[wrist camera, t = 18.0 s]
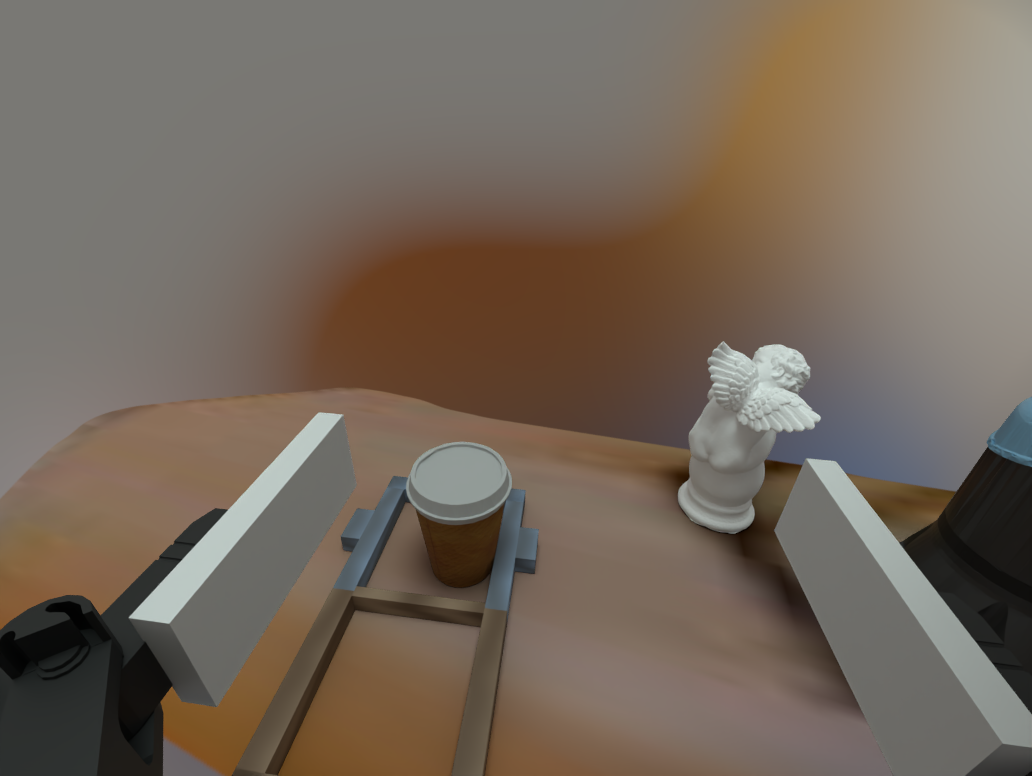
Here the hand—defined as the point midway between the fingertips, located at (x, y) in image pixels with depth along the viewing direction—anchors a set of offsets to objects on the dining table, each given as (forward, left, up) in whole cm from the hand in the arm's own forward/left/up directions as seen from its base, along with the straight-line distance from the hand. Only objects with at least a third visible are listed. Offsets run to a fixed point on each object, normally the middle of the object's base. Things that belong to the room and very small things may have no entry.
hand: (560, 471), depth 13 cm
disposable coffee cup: (+8, -20, -30) cm, 37 cm away
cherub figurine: (-20, -31, -30) cm, 47 cm away
